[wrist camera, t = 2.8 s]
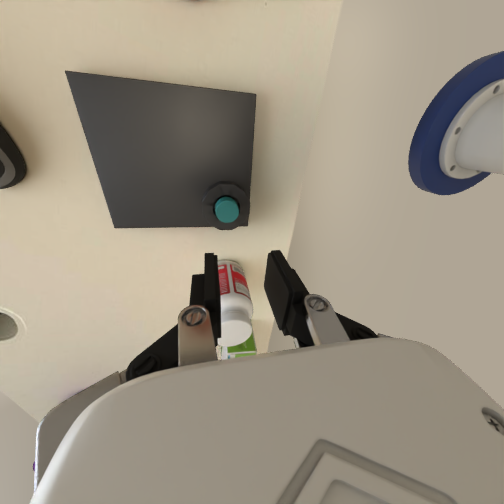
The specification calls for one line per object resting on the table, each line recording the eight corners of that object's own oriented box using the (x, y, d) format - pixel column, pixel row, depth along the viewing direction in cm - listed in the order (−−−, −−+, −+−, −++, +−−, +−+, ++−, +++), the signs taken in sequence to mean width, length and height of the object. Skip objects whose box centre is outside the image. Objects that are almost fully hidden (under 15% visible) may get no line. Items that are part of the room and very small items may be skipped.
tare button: (237, 196, 23) (239, 200, 22) (236, 217, 24) (238, 222, 23) (214, 196, 22) (215, 200, 21) (215, 218, 24) (215, 223, 22)
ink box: (244, 350, 43) (258, 431, 32) (220, 352, 42) (225, 437, 31) (250, 318, 38) (269, 400, 27) (223, 319, 37) (230, 407, 25)
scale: (253, 96, 20) (260, 91, 18) (246, 222, 28) (250, 231, 25) (74, 74, 17) (51, 65, 15) (119, 223, 24) (108, 234, 22)
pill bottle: (202, 288, 32) (201, 352, 23) (207, 256, 29) (207, 315, 20) (239, 290, 34) (252, 349, 25) (247, 260, 31) (264, 316, 22)
